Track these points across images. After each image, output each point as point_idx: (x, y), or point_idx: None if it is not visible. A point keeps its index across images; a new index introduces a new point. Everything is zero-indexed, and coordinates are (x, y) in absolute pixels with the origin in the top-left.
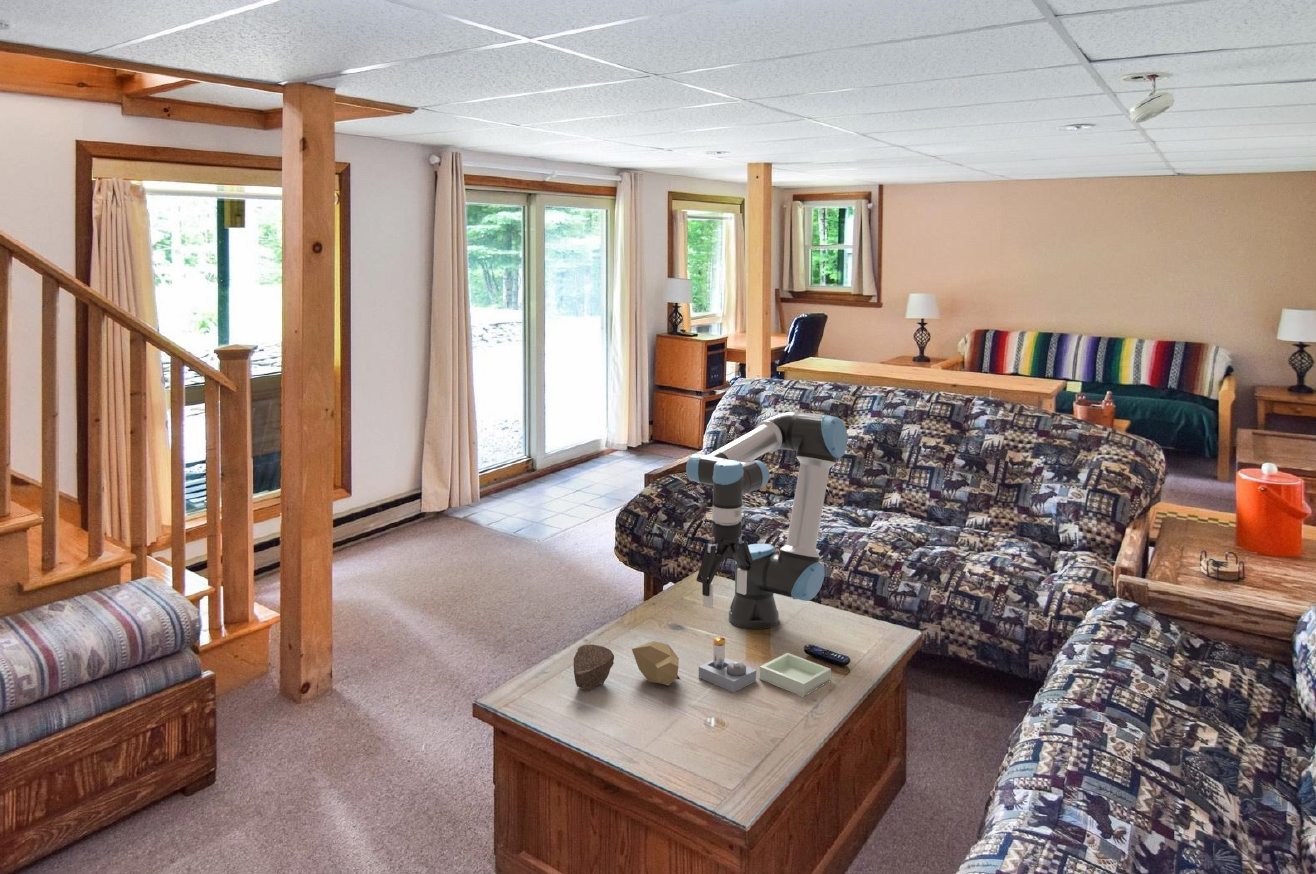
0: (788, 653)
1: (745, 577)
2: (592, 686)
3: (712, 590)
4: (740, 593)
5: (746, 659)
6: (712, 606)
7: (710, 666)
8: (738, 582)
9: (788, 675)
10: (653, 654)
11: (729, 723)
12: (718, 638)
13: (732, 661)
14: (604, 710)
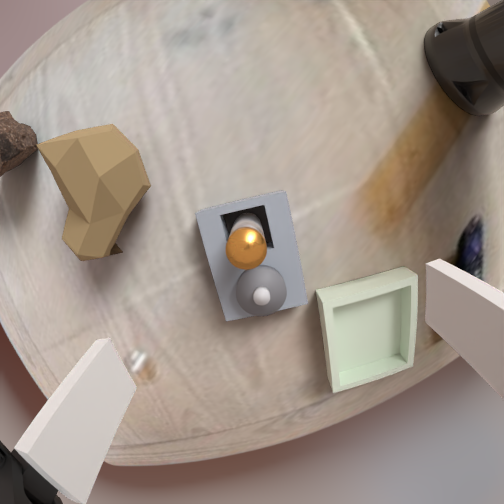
0: (416, 279)
1: (494, 384)
2: (14, 167)
3: (93, 467)
4: (426, 295)
5: (357, 194)
6: (130, 393)
7: (222, 228)
8: (470, 306)
9: (365, 318)
10: (63, 189)
11: (160, 379)
12: (248, 243)
13: (291, 234)
14: (16, 237)
